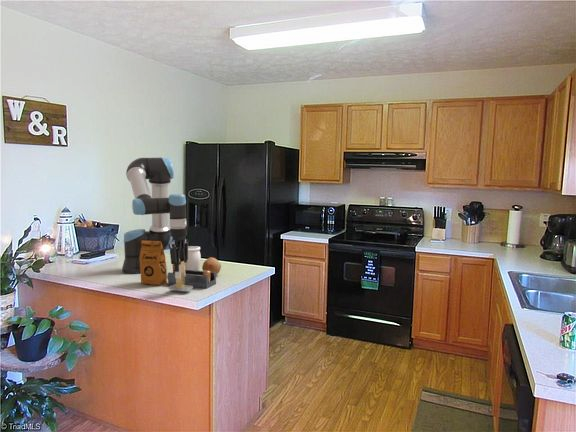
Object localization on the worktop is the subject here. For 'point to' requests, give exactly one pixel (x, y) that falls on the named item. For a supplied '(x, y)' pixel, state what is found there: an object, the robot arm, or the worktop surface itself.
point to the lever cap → (181, 281)
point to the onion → (212, 265)
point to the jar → (193, 258)
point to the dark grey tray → (195, 278)
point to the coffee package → (153, 263)
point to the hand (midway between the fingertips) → (180, 277)
